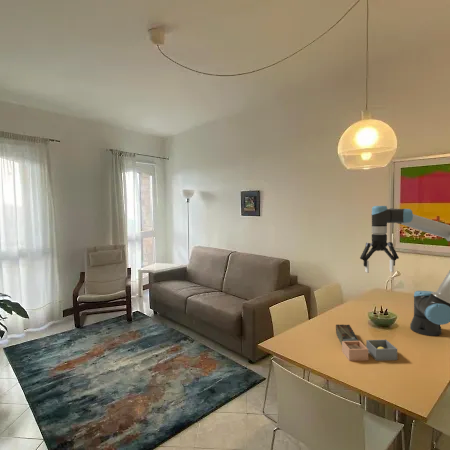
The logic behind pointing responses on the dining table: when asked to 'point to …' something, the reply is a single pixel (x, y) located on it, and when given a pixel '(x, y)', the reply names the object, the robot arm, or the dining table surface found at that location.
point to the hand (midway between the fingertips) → (379, 271)
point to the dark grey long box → (345, 333)
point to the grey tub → (381, 350)
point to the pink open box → (355, 351)
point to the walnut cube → (354, 346)
